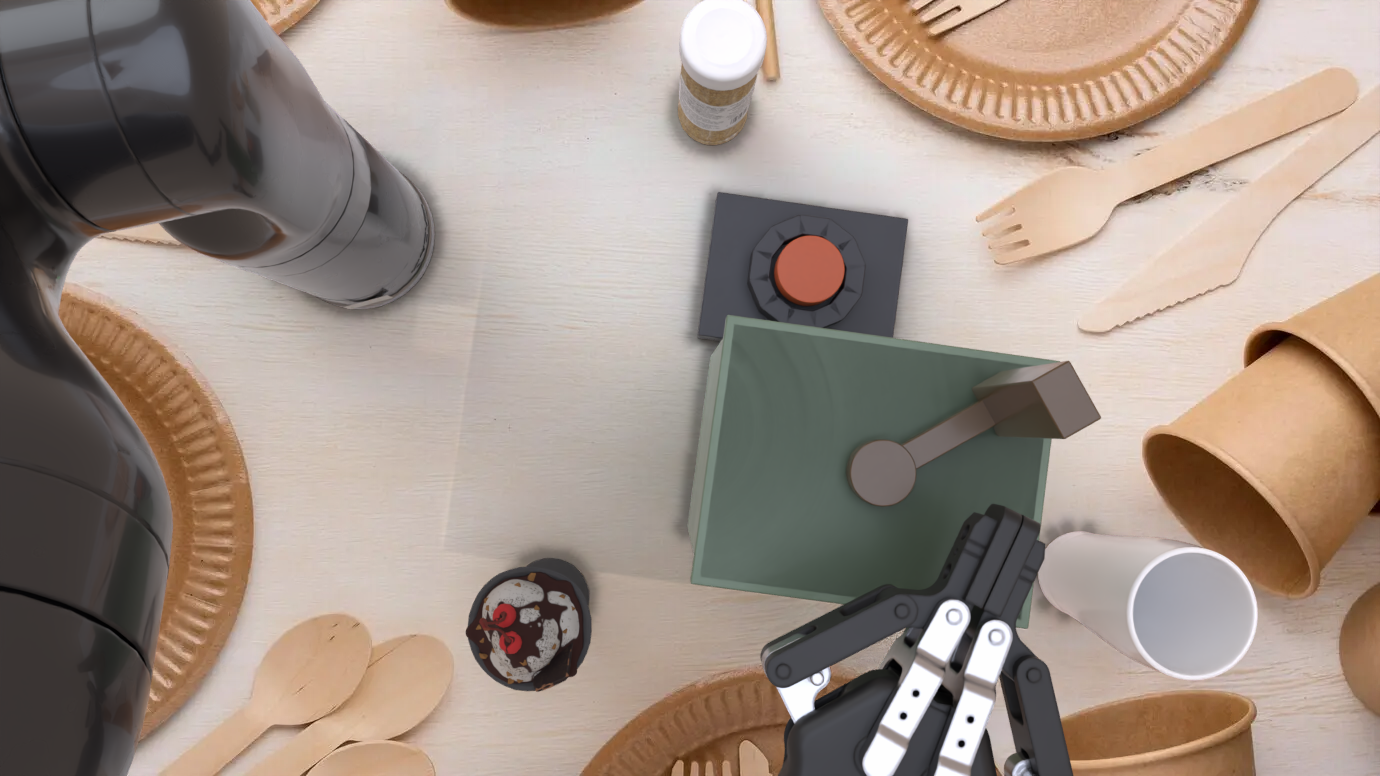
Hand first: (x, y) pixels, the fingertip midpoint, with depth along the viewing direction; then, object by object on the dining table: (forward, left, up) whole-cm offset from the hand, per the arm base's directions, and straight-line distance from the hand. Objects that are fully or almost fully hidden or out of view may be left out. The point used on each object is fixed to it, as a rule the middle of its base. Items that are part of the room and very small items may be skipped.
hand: (1014, 513), depth 39 cm
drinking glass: (+14, -4, -28) cm, 32 cm away
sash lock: (-2, +2, -6) cm, 7 cm away
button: (-6, +12, -24) cm, 28 cm away
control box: (-6, +12, -28) cm, 31 cm away
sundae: (-19, -10, -28) cm, 36 cm away
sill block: (-4, +1, -28) cm, 28 cm away
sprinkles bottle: (-13, +22, -28) cm, 38 cm away
